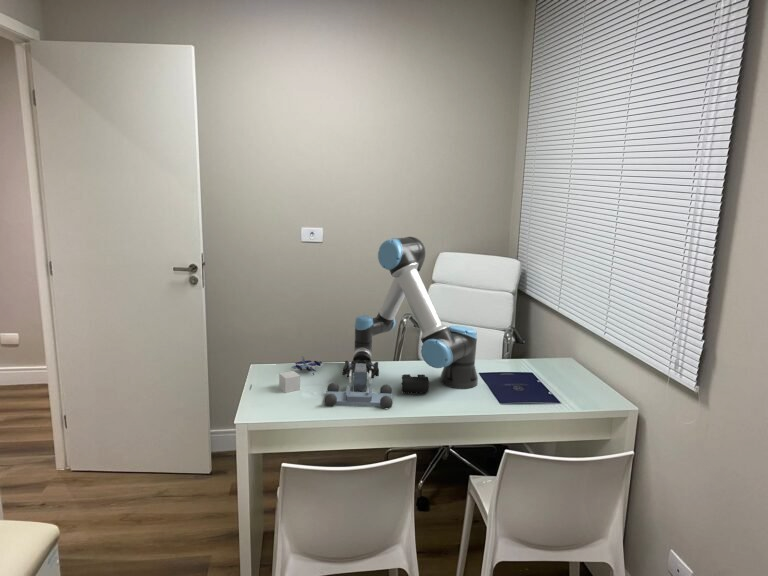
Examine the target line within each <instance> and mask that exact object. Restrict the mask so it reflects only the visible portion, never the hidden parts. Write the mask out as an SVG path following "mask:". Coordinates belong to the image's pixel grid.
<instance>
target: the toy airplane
mask: <svg viewBox="0 0 768 576" xmlns="http://www.w3.org/2000/svg"><path fill="white" fill-rule="evenodd" d="M294 364H295V365H294V366H291V369H292V370H293V369H297V370H299V371H303V369H305V370H306V371H309V372H311V375H312V374H313V375H312V376H315V372H317V373H318V371H317V370H316V369H315V367H316V366H318V367H321V366H322V364H323V362H322V361H319V360H318V361H317V360H314V361H313V362H312V361H311V360H305V357H304V356H303V355H301V361H297V362H295V363H294Z"/></svg>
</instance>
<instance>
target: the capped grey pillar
mask: <svg viewBox="0 0 768 576" xmlns="http://www.w3.org/2000/svg"><path fill="white" fill-rule="evenodd" d="M367 380H368V372H367V368H366V364H364V363H356V366H355V368H354V373H353V388H352V392H363V393H367V389H368V388H367V387H368V386H367V385H368V383H367V382H368V381H367Z"/></svg>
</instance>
